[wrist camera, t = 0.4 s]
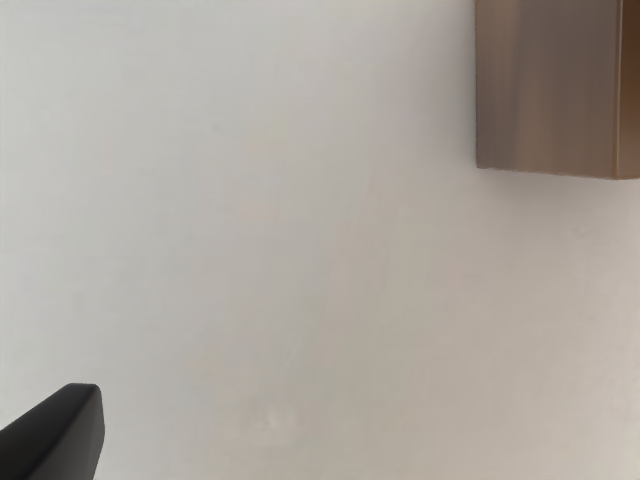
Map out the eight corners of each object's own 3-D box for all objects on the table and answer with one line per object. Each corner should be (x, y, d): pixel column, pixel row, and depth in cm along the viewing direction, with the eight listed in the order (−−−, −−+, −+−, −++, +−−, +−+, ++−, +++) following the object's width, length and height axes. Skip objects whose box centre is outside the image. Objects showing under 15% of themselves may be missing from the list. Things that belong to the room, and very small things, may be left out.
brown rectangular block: (643, 159, 20) (905, 165, 12) (475, 168, 20) (613, 180, 11) (650, -20, 19) (940, -161, 11) (474, -13, 19) (622, -150, 10)
